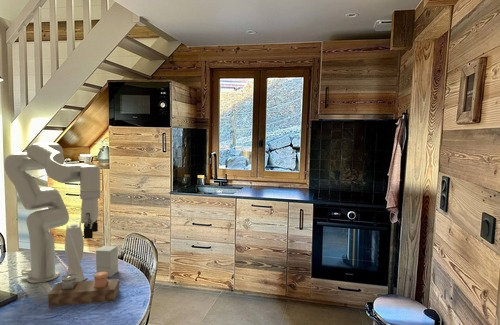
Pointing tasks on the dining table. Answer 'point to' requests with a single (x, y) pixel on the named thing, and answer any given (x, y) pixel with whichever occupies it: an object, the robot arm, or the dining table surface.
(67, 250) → the skyscraper
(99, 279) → the terracotta plug
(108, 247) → the supplement box
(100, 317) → the dining table surface
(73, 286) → the plug
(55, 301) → the plug block
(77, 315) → the dining table surface
